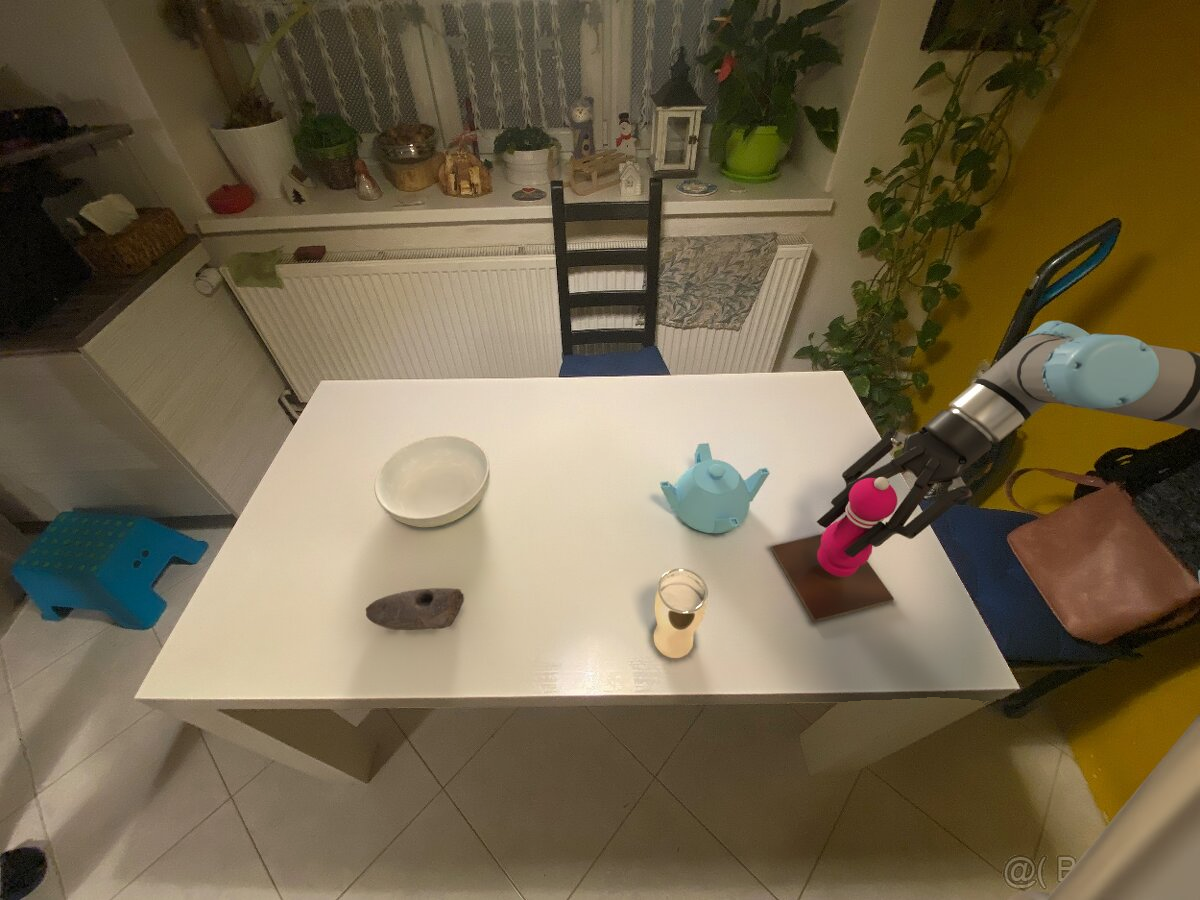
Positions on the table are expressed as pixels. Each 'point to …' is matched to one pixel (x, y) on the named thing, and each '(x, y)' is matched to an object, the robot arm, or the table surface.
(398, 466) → the serving bowl
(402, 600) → the perforated stone tool
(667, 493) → the teapot
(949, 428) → the robot arm
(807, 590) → the walnut board
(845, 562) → the pepper mill
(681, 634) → the beer glass
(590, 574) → the table surface
